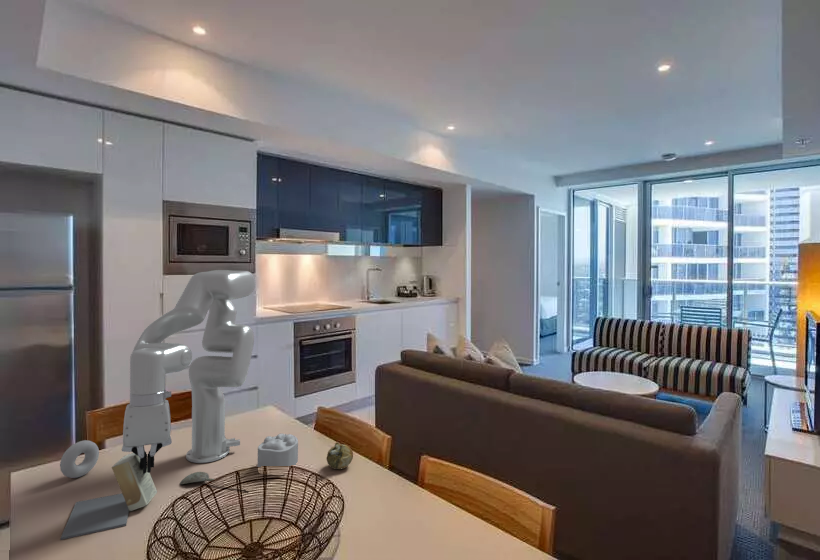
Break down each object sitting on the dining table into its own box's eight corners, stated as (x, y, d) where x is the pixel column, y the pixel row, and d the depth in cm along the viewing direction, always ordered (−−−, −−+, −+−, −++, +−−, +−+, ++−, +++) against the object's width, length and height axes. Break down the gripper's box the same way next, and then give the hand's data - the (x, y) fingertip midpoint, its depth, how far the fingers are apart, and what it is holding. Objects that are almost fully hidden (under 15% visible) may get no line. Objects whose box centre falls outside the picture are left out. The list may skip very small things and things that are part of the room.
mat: (132, 493, 114) (132, 491, 114) (126, 525, 100) (126, 523, 100) (76, 503, 108) (76, 502, 108) (60, 539, 94) (60, 537, 94)
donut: (65, 485, 117) (65, 449, 117) (56, 483, 118) (56, 447, 118) (102, 469, 127) (102, 435, 126) (93, 467, 128) (93, 434, 128)
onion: (355, 470, 129) (355, 444, 129) (328, 474, 127) (329, 447, 126) (350, 460, 136) (350, 435, 136) (324, 463, 134) (325, 437, 134)
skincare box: (141, 498, 112) (124, 455, 111) (158, 492, 112) (141, 449, 111) (128, 512, 105) (110, 466, 104) (146, 506, 106) (128, 460, 105)
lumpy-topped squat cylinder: (252, 473, 127) (252, 444, 126) (274, 454, 139) (275, 428, 139) (285, 477, 125) (285, 447, 124) (304, 458, 137) (305, 431, 137)
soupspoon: (192, 477, 125) (174, 489, 119) (191, 466, 125) (173, 477, 119) (257, 486, 119) (242, 500, 113) (257, 475, 119) (241, 487, 113)
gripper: (181, 391, 115) (180, 459, 115) (113, 398, 108) (113, 470, 108) (181, 398, 108) (180, 471, 109) (109, 406, 101) (109, 484, 102)
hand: (147, 470), depth 108 cm, fingers closed
